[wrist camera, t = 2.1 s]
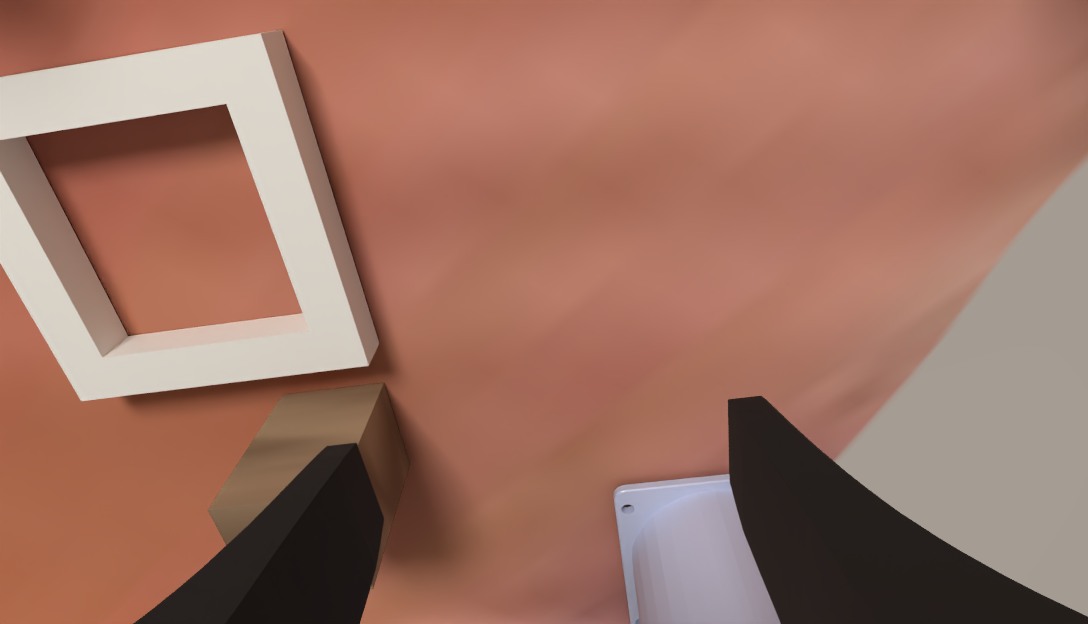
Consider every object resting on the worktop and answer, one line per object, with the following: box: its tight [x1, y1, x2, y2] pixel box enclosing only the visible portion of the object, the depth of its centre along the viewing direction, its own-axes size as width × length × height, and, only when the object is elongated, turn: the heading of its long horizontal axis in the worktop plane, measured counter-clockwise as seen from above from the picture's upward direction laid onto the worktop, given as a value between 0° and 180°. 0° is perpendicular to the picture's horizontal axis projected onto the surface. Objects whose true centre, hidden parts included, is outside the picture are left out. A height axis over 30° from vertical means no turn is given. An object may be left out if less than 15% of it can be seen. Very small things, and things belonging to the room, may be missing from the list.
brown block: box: [208, 383, 410, 589], centre depth 23 cm, size 4×4×6 cm
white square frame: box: [0, 29, 379, 401], centre depth 21 cm, size 11×11×2 cm
